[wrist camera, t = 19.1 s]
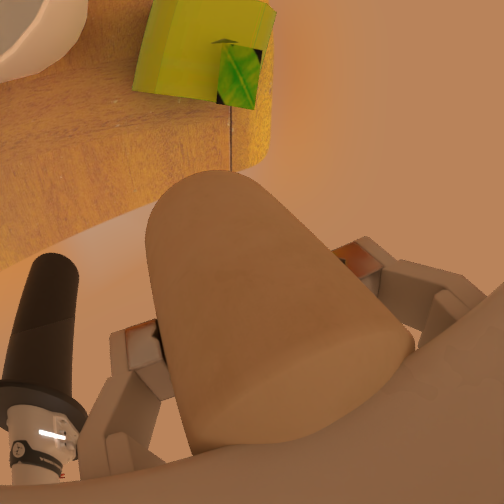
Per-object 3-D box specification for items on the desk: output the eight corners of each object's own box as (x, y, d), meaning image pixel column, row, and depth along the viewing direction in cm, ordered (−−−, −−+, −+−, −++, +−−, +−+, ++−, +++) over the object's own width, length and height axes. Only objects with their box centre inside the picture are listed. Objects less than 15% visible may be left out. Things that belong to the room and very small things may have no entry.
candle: (261, 149, 12) (493, 330, 4) (282, 259, 15) (419, 438, 7) (122, 199, 11) (161, 507, 3) (172, 304, 14) (249, 525, 6)
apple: (132, 86, 29) (131, 94, 18) (151, 5, 25) (166, -37, 13) (224, 98, 34) (279, 118, 22) (244, 23, 29) (310, 3, 18)
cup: (100, -19, 21) (73, -114, 4) (113, 60, 27) (84, 40, 10) (14, 15, 18) (-91, -20, 2) (27, 93, 25) (-80, 131, 8)
